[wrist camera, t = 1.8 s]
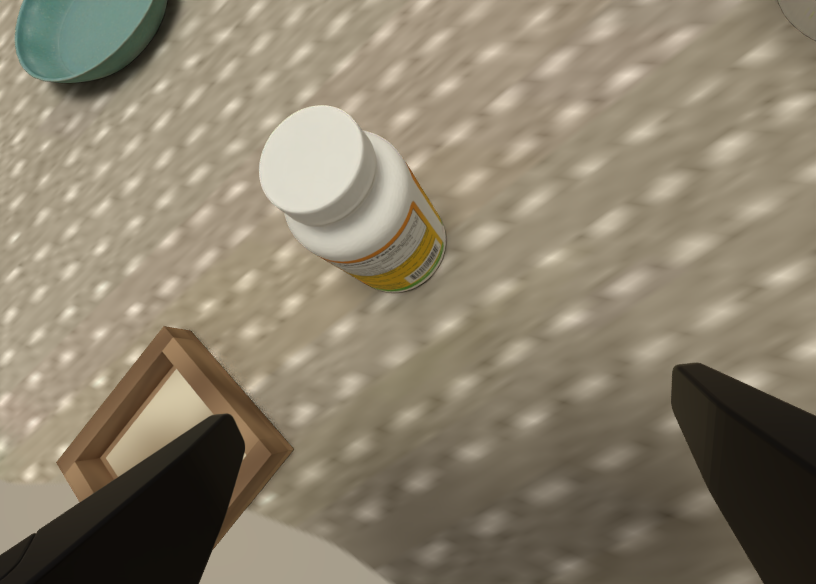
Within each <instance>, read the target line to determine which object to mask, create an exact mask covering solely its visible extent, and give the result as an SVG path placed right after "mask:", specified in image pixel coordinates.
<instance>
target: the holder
mask: <svg viewBox="0 0 816 584" xmlns="http://www.w3.org/2000/svg"><path fill="white" fill-rule="evenodd" d="M224 413H228V414H231V415H232V416H233V418H234V419H235V422H236V424H237V426H238V428H239V430H240V432H241V434H242V437H243V439H244V441H245V454H244V457H243V460H242V464H241V467H240V470H239V474H238V477H237V480H236V484H235V487H234V490H233V494H232V497H231V501H230V504H229V507H228V510H227V513H226V516H225V519H224V522H223V525H222V527H221V530H220V533H219V535H218V538H217V540H216V543H215V545H214V547H213V549H214V548H215V547H216V545H217V544H218V543H219V542H220V540H221V539H222V538H223V537H224V535H225V534H226V533H227V532H228V530H229V529H230V528H231V527H232V525H233V524H234V523H235V522H236V520H237V519H238V518H239V517H240V516H241V514H242V513H243V512H244V511H245V509H246V508H247V507H248V506H249V504H250V503H251V502H252V501H253V499H254V498H255V497H256V496H257V494H258V493H259V492H260V491H261V489H262V488H263V487H264V486H265V484H266V483H267V482H268V481H269V479H270V478H271V477H272V476H273V475H274V473H275V472H276V471H277V470H278V468H279V467H280V466H281V465H282V463H283V462H284V461H285V460H286V458H287V457H288V456H289V455H290V453H291V452H292V451H293V450H294V449H293V448H292V447H291V445H290V444H289V443H288V442H287V441H286V440H285V439H284V437H283V436H282V435H281V434H280V433H279V432H278V430H277V429H276V428H275V427H274V426H273V425H272V424H271V422H270V421H269V420H268V419H267V418H266V417H265V416H264V414H263V413H262V412H261V411H260V410H259V409H258V408H257V406H256V405H255V404H254V403H253V402H252V401H251V399H250V398H249V397H248V396H247V395H246V394H245V393H244V391H243V390H242V389H241V388H240V387H239V386H238V385H237V383H236V382H235V381H234V380H233V379H232V378H231V377H230V375H229V374H228V373H227V372H226V371H225V370H224V369H223V367H222V366H221V365H220V364H219V363H218V362H217V360H216V359H215V358H214V357H213V356H212V355H211V354H210V352H209V351H208V350H207V349H206V348H205V347H204V346H203V344H202V343H201V342H200V341H199V340H198V339H197V338H196V336H195V335H194V334H193V333H192V332H191V331H189V330H183V329H177V328H172V327H166V326H164V327H163V328H162V329H161V330H160V332H159V333H158V334H157V335H156V337H155V338H154V339H153V341H152V342H151V343H150V344H149V346H148V347H147V348H146V349H145V351H144V352H143V353H142V354H141V356H140V357H139V358H138V360H137V361H136V362H135V363H134V365H133V366H132V367H131V368H130V370H129V371H128V372H127V373H126V375H125V376H124V377H123V379H122V380H121V381H120V382H119V384H118V385H117V386H116V387H115V389H114V390H113V391H112V392H111V394H110V395H109V396H108V398H107V399H106V400H105V401H104V403H103V404H102V405H101V406H100V408H99V409H98V410H97V411H96V413H95V414H94V415H93V417H92V418H91V419H90V420H89V422H88V423H87V424H86V425H85V427H84V428H83V429H82V430H81V432H80V433H79V434H78V436H77V437H76V438H75V439H74V441H73V442H72V443H71V444H70V446H69V447H68V448H67V449H66V451H65V452H64V453H63V455H62V456H61V457H60V458H59V460H58V461H57V462H56V463H57V465H58V466H59V468H60V470H61V471H62V473H63V475H64V477H65V478H66V480H67V482H68V483H69V485H70V487H71V488H72V490H73V492H74V493H75V495H76V497H77V498H78V500H79V502H81V501H83V500H84V499H86V498H87V497H89V496H90V495H92V494H93V493H95V492H96V491H98V490H99V489H101V488H102V487H104V486H105V485H107V484H108V483H110V482H111V481H113V480H114V479H116V478H117V477H119V476H120V475H122V474H123V473H125V472H126V471H128V470H129V469H131V468H132V467H134V466H135V465H137V464H138V463H140V462H141V461H143V460H144V459H146V458H147V457H149V456H150V455H152V454H153V453H155V452H156V451H158V450H159V449H161V448H162V447H164V446H165V445H167V444H168V443H170V442H171V441H173V440H174V439H176V438H177V437H179V436H180V435H182V434H183V433H185V432H186V431H188V430H189V429H191V428H192V427H194V426H195V425H197V424H198V423H200V422H201V421H203V420H204V419H206V418H207V417H209V416H211V415H215V414H224Z"/></svg>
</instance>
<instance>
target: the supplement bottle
mask: <svg viewBox="0 0 816 584" xmlns="http://www.w3.org/2000/svg"><path fill="white" fill-rule="evenodd" d="M259 176H260V182H261V186H262V189H263V191H264V193H265V195H266V196H267V198H268V199H269V200H270V201H271V203H272V204H273V205H275V206H276V207H277V208H278V209H280V210H281V211H283V212H284V213H285V218H286V221H287V224H288V226H289V228H290V230H291V232H292V234H293V235H294V237H295V238H296V239H297V241H298V242H299V243H300V244H301V245H303V246H304V247H305V248H306V249H308V250H309V251H311V252H312V253H314V254H315V255H317V256H319V257H320V258H322V259H324V260H326V261H328V262H329V263H331V264H333V265H334V266H336V267H338V268H339V269H341V270H343V271H345V272H346V273H348V274H350V275H351V276H353V277H355V278H357V279H358V280H360V281H362V282H363V283H365V284H367V285H368V286H371V287H372V288H375V289H377V290H380V291H384V292H404V291H408V290H411V289H413V288H415V287H417V286H419V285H421V284H422V283H424V282H425V281H426V280H427V279H429V278H430V277H431V276H432V274H433V273H434V272H435V271H436V269H437V268H438V266H439V264H440V263H441V260H442V258H443V255H444V251H445V246H446V235H445V229H444V226H443V223H442V221H441V219H440V216H439V215H438V213H437V211H436V210H435V208H434V207H433V205H432V204H431V202H430V200H429V199H428V197H427V196H426V194H425V192H424V191H423V189H422V188H421V186H420V184H419V183H418V181H417V179H416V178H415V176H414V175H413V173H412V171H411V170H410V168H409V166H408V165H407V163H406V162H405V160H404V158H403V157H402V156H401V155H400V153H399V152H398V151H397V149H396V148H395V147H394V146H393V145H392V144H391V143H389V142H388V141H387V140H385V139H384V138H382V137H380V136H379V135H376V134H374V133H371V132H368V131H363V130H362V129H361V128H360V126H359V125H358V124H357V123H356V121H355V120H354V119H353V118H352V117H351V116H350V115H349V114H347V113H346V112H344V111H343V110H341V109H338V108H335V107H332V106H325V105H319V106H311V107H307V108H304V109H302V110H299V111H297V112H295V113H294V114H292V115H290V116H289V117H288V118H286V119H285V120H284V121H283V122H282V123H280V124H279V125H278V127H277V128H276V129H275V130H274V131H273V132H272V134H271V135H270V137H269V139H268V140H267V142H266V144H265V147H264V149H263V151H262V155H261V158H260V165H259Z"/></svg>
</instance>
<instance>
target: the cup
mask: <svg viewBox="0 0 816 584" xmlns="http://www.w3.org/2000/svg"><path fill="white" fill-rule="evenodd" d="M778 2H779V5H780V7H781V9H782V11H783V13H784V15H785V16H786V17H787V19H788V20H789V21H790V22H791V23H792V24H793V25H794V26H795V27H796V28H797V29H798V30H799V31H801V32H802V33H803V34H805V35H806V36H808V37H810V38H811V39H813V40H815V41H816V0H778Z"/></svg>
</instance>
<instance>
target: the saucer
mask: <svg viewBox="0 0 816 584" xmlns="http://www.w3.org/2000/svg"><path fill="white" fill-rule="evenodd" d="M166 6H167V0H23V3H22V5H21V8H20V11H19V15H18V18H17V24H16V29H15V30H16V32H15V48H16V54H17V56H18V59H19V62H20V64H21V66H22V67H23V68H24V70H25V71H26V72H27V73H28V74H29V75H31V76H32V77H34V78H37V79H39V80H43V81H49V82H58V83H76V82H85V81H91V80H95V79H100V78H104V77H107V76H109V75H111V74H113V73H115V72H117V71H119V70H121V69H122V68H124V67H125V66H127V65H128V64H129V63H131V62H132V61H133V60H134V59H135V58H136V57H137V56H138V55H139V54H140V53H141V52H142V51H143V50H144V49H145V48H146V46H147V45H148V44H149V42H150V41H151V40H152V38H153V37H154V35H155V33H156V32H157V30H158V28H159V26H160V24H161V21H162V19H163V16H164V13H165V10H166Z"/></svg>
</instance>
